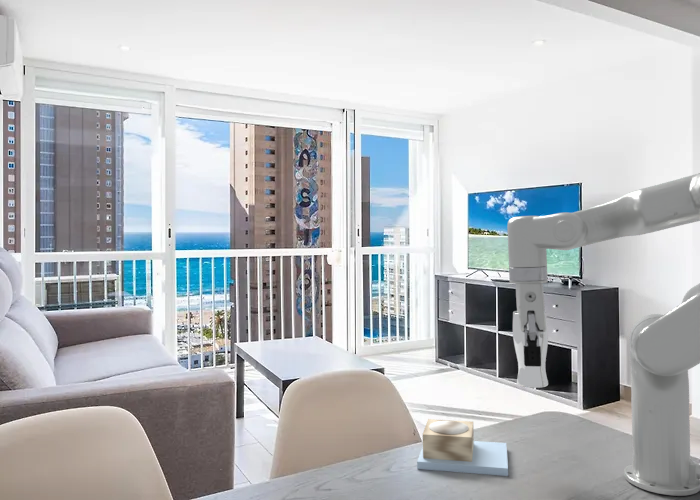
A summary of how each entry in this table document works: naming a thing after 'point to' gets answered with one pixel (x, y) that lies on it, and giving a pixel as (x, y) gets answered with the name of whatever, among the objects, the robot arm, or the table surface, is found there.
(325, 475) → the table surface
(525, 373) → the beer glass
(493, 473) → the blueprint board
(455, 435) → the plinth
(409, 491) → the table surface
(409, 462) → the table surface
